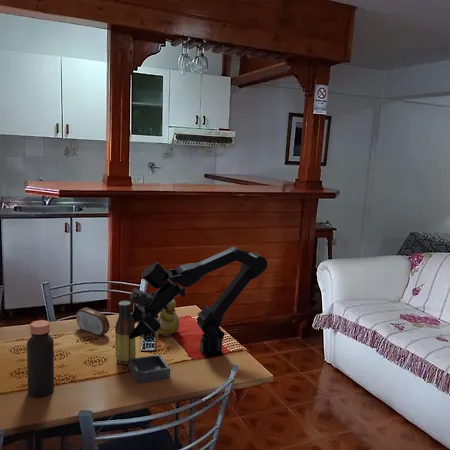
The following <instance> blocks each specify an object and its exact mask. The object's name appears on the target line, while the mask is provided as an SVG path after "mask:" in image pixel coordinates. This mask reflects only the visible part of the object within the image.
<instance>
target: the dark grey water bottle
mask: <svg viewBox="0 0 450 450" xmlns="http://www.w3.org/2000/svg"><path fill="white" fill-rule="evenodd" d="M50 325H51V323H50V322H49V321H48V320H43V319H40V320H34V321H32V322H31V323H30V325H29V329H30V330H29V332H30V335H31V336H30V338H28V339H27V342H26V362H27V363H26V365H27V367H26V368H27V371H26V372H27V393H28V395H29V396H30V397H33V398H43V397H46V396H49V395H51V394H52V393H53V391H54V390H55V366H54V365H55V362H54V361H55V359H54V358H55V357H54V352H55V351H54V347H55V346H54V341H55V340H54V338H53V337H52V336H51V335H49V334H50V331H51V330H50V329H51V326H50Z"/></svg>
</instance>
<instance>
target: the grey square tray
mask: <svg viewBox="0 0 450 450" xmlns="http://www.w3.org/2000/svg"><path fill="white" fill-rule="evenodd" d="M128 369H129V371H130V373H131V374H132V376H133V378H134V380H135V382H136V384H145V383H149V382H154V381H155V382H156V381H159V380H160V381H161V380H167V379H171V367H170V366H169V365H168V364H167V362H166V361H165V359H164V357H162V355H161V354H153V355H147V356H146V355H145V356H140V357H135V358H133V359H129V364H128Z"/></svg>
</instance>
